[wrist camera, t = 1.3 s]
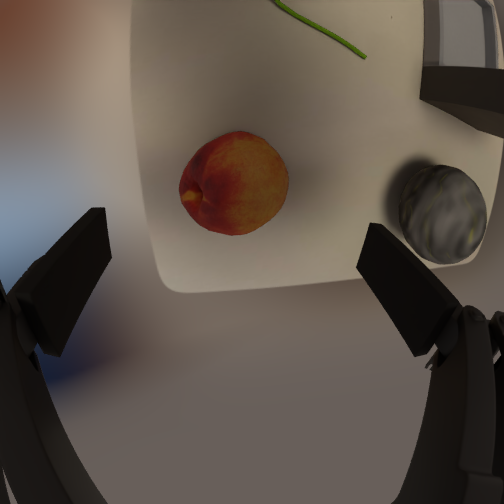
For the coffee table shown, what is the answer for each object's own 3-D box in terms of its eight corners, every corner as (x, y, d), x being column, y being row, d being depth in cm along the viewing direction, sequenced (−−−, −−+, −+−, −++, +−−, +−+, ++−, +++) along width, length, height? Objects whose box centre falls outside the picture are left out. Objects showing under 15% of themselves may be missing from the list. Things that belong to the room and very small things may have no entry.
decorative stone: (454, 168, 25) (514, 200, 16) (429, 240, 30) (476, 286, 21) (396, 142, 23) (464, 169, 15) (370, 229, 28) (419, 282, 19)
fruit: (205, 115, 21) (195, 119, 14) (291, 147, 23) (321, 166, 16) (178, 197, 24) (160, 236, 17) (259, 222, 26) (272, 268, 20)
